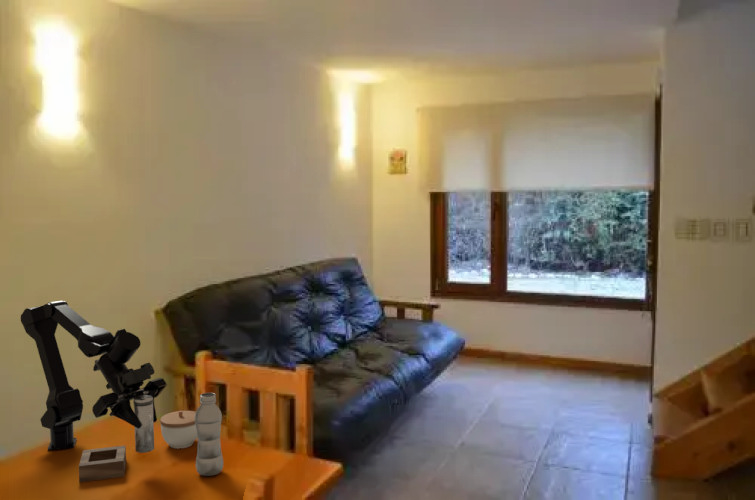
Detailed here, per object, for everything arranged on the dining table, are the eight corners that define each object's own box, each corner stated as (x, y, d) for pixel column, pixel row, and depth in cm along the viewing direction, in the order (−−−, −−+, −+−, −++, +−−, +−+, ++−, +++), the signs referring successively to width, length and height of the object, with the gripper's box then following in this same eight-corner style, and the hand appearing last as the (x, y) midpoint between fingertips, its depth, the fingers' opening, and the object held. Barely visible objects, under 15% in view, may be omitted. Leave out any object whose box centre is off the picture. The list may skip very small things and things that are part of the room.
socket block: (83, 465, 163) (83, 450, 163) (126, 460, 167) (125, 445, 166) (79, 482, 154) (78, 466, 154) (124, 476, 157) (123, 460, 157)
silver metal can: (135, 446, 161) (133, 396, 159) (154, 444, 162) (153, 394, 161) (134, 453, 156) (133, 402, 155) (154, 451, 158) (153, 400, 156)
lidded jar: (164, 455, 170) (163, 420, 169) (158, 441, 179) (157, 408, 179) (205, 447, 175) (204, 414, 174) (196, 434, 184) (196, 402, 184)
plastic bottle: (216, 480, 155) (214, 400, 153) (190, 478, 156) (188, 398, 154) (228, 469, 161) (226, 391, 159) (203, 466, 163) (201, 390, 161)
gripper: (98, 363, 151) (131, 417, 146) (161, 347, 167) (192, 395, 162) (78, 390, 156) (109, 444, 151) (141, 372, 172) (171, 419, 167)
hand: (147, 424), depth 158 cm, fingers closed on silver metal can, 4 cm apart
